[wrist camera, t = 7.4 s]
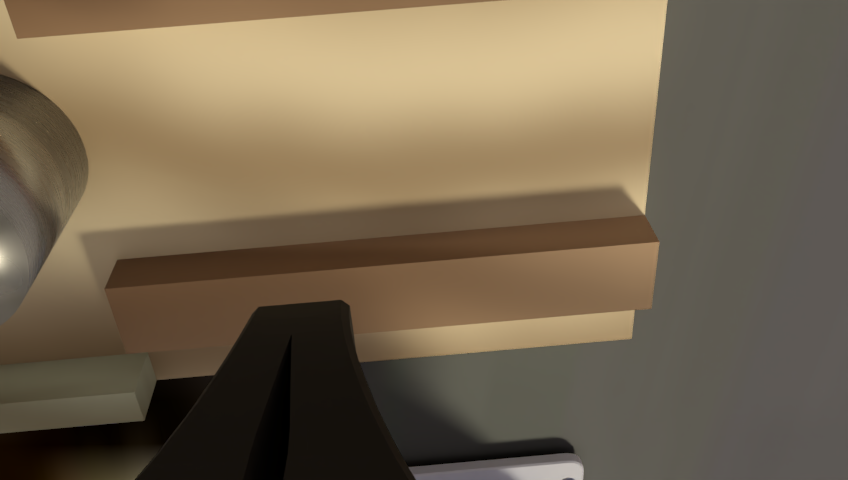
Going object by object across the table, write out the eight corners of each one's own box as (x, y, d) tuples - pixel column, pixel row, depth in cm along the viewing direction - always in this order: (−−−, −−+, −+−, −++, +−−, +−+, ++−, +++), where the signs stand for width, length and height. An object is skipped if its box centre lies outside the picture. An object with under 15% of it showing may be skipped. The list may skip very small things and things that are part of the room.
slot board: (623, 320, 23) (647, 376, 21) (-345, 404, 23) (-411, 469, 21) (680, -261, 15) (725, -255, 13) (-795, -151, 15) (-967, -130, 13)
